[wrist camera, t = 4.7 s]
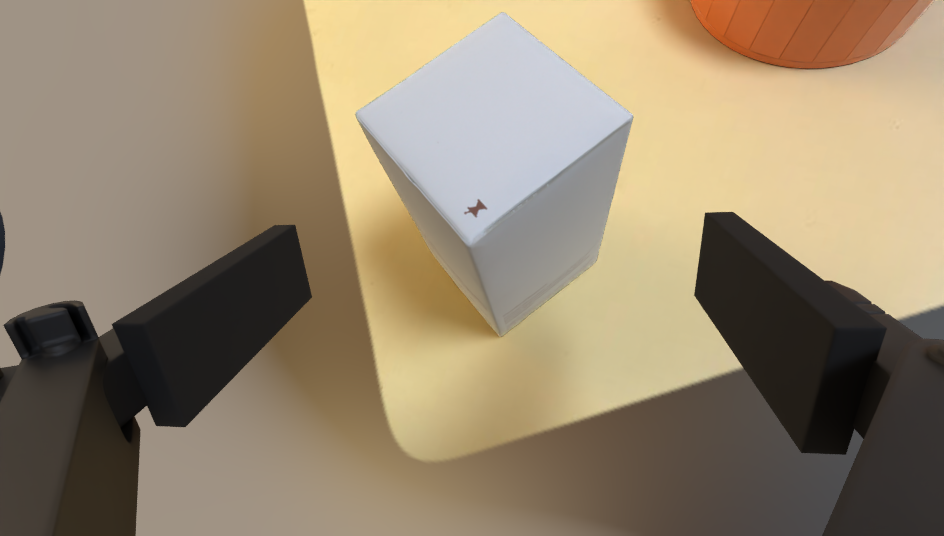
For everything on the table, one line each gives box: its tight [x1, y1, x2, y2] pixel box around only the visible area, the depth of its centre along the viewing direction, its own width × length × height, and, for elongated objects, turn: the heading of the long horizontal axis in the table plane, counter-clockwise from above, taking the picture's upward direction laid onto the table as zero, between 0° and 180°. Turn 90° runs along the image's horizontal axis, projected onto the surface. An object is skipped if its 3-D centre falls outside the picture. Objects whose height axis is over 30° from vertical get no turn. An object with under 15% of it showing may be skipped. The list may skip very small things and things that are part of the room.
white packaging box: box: [355, 12, 633, 337], centre depth 22 cm, size 7×7×13 cm
